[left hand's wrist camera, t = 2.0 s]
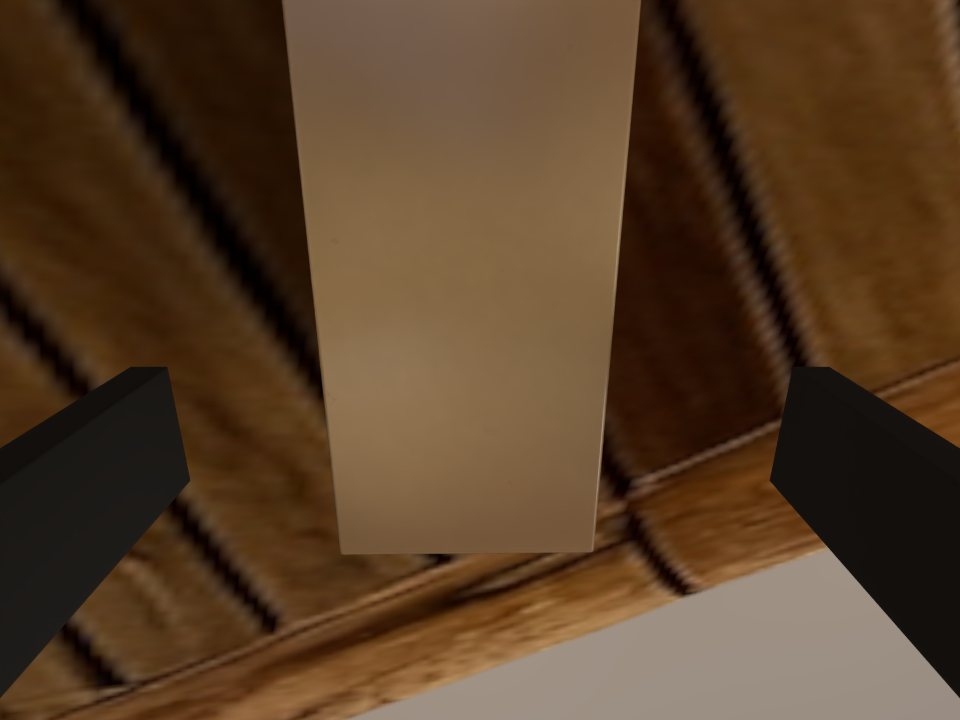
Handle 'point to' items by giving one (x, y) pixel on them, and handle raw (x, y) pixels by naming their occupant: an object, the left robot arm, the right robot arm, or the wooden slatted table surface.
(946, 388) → the wooden slatted table surface
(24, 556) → the left robot arm
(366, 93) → the box
